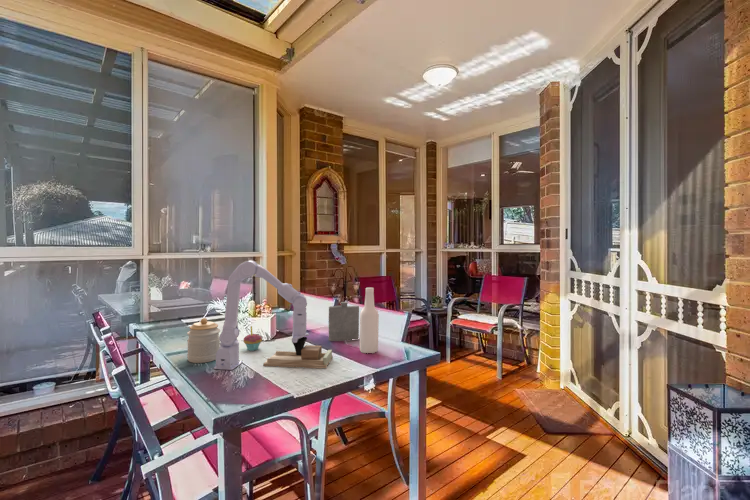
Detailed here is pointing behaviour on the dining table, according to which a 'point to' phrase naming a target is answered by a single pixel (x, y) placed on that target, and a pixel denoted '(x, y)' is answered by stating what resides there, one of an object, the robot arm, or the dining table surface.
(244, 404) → the dining table surface
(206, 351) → the jar
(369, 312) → the alcohol
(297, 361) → the bay
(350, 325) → the hip flask
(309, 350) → the block
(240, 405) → the dining table surface
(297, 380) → the dining table surface
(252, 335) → the cupcake
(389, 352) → the dining table surface
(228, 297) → the robot arm
